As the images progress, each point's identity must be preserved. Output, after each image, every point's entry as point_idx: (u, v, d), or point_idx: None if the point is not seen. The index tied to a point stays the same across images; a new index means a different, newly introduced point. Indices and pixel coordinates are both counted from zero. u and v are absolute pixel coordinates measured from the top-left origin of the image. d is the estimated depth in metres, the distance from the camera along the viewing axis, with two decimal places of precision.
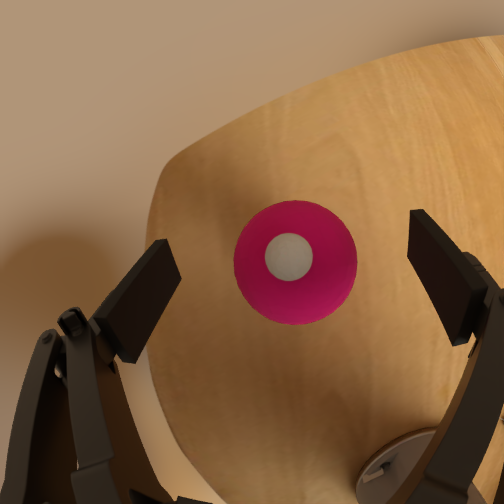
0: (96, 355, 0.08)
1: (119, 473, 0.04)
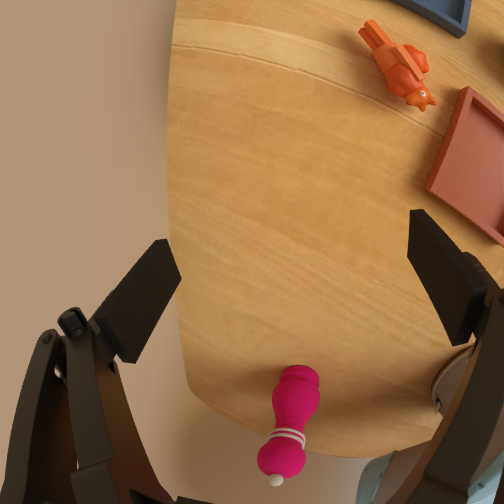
0: (96, 355, 0.08)
1: (118, 473, 0.04)
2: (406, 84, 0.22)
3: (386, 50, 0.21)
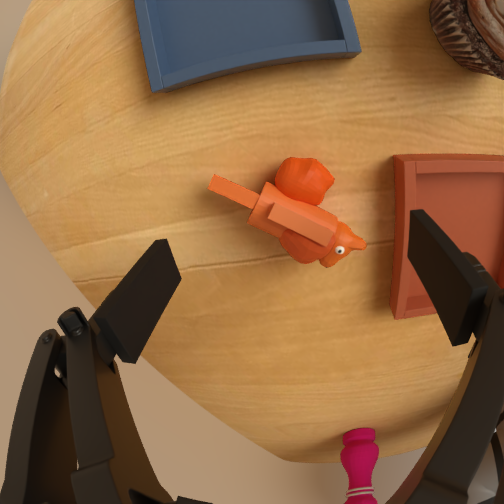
0: (96, 355, 0.08)
1: (119, 473, 0.04)
2: (311, 259, 0.20)
3: (260, 220, 0.19)
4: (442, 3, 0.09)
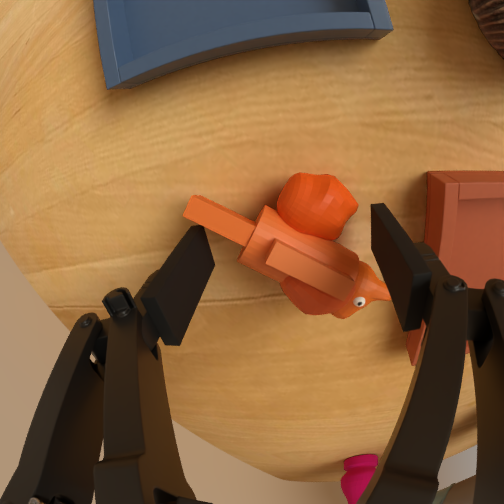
0: (140, 340, 0.09)
1: (146, 471, 0.04)
2: None
3: (255, 261, 0.14)
4: None
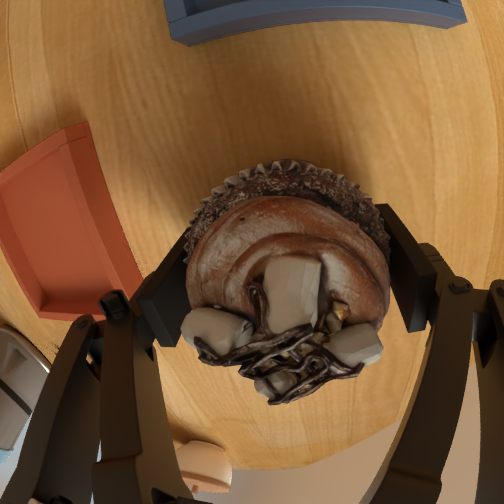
0: (136, 341, 0.09)
1: (144, 471, 0.04)
2: None
3: None
4: None
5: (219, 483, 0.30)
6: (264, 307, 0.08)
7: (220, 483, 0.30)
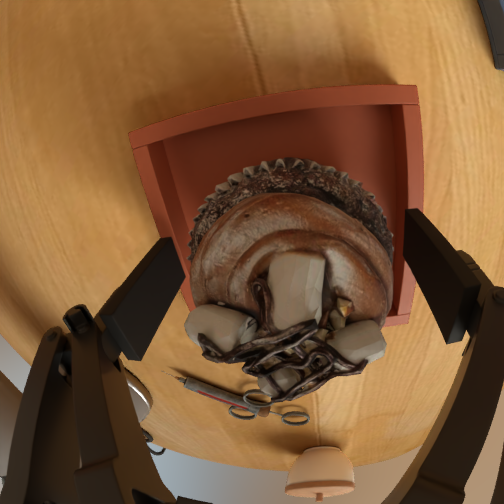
0: (101, 353, 0.08)
1: (122, 473, 0.04)
2: None
3: None
4: None
5: (351, 484, 0.27)
6: (269, 303, 0.08)
7: (352, 484, 0.27)
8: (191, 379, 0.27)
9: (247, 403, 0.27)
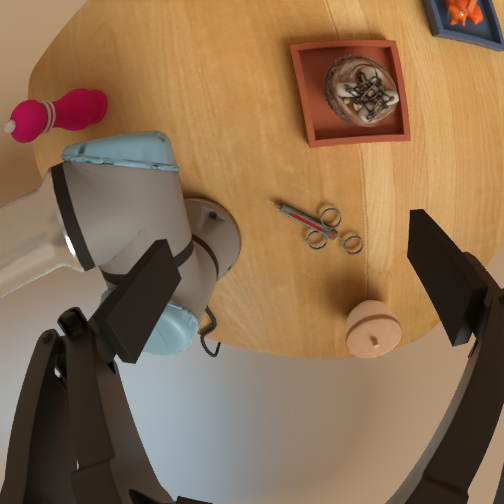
0: (96, 355, 0.08)
1: (119, 473, 0.04)
2: (458, 1, 0.17)
3: None
4: None
5: (399, 324, 0.43)
6: (364, 74, 0.24)
7: None
8: (285, 205, 0.43)
9: (322, 224, 0.43)
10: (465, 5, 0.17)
